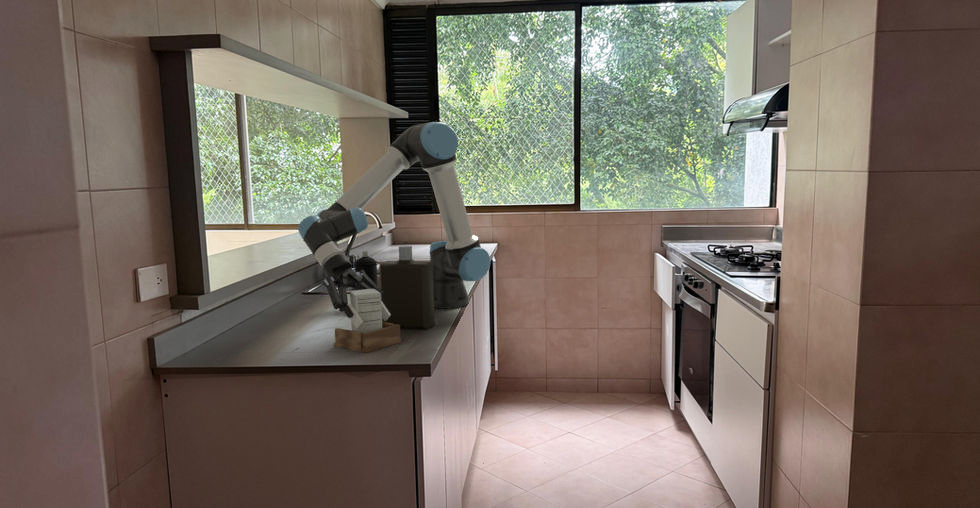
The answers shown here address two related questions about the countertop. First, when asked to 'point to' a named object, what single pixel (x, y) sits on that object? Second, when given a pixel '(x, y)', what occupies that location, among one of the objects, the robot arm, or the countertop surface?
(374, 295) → the supplement box
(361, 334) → the u rest
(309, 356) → the countertop surface
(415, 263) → the bottle
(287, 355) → the countertop surface
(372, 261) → the aerosol can
